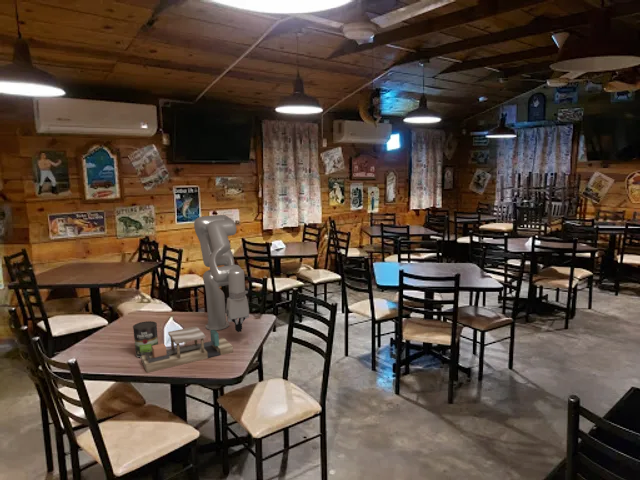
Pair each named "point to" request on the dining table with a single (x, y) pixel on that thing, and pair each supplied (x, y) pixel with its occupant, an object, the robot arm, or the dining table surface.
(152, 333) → the coffee can
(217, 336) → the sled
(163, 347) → the block
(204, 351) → the tunnel
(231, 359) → the dining table surface
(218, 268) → the robot arm
